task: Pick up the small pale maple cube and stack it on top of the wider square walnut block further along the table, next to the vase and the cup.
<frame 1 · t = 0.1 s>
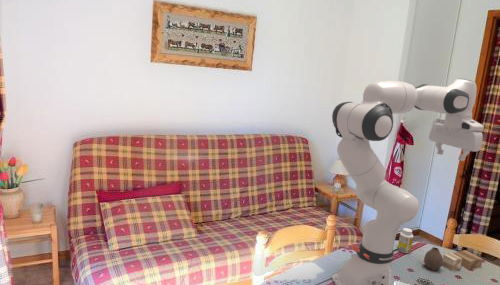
hand: (450, 157, 146), 48 cm above the table, tool pointing down, fingers open, 8 cm apart
walnut block: (466, 264, 163), on the table
supplement bottle: (403, 251, 170), on the table
maple cube: (450, 267, 158), on the table
vase: (431, 268, 156), on the table
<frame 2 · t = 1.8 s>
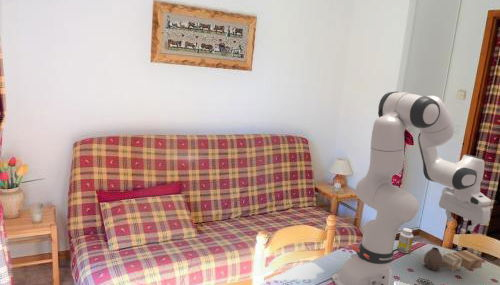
hand: (459, 225, 155), 19 cm above the table, tool pointing down, fingers open, 8 cm apart
nothing on the table moved.
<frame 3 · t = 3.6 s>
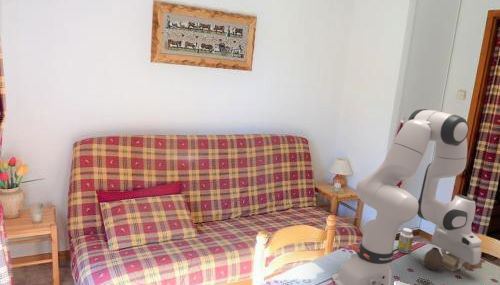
hand: (451, 263, 158), 2 cm above the table, tool pointing down, fingers closed on maple cube, 5 cm apart
maple cube: (450, 267, 158), on the table, touching gripper
everything else where it was.
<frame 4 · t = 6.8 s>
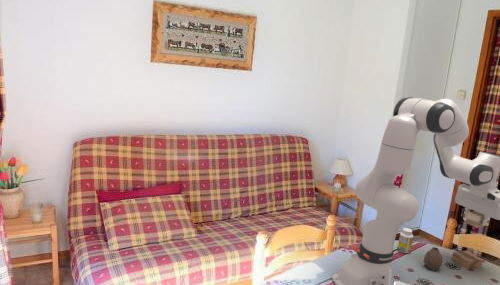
hand: (475, 221, 159), 20 cm above the table, tool pointing down, fingers closed on maple cube, 5 cm apart
maple cube: (475, 224, 159), point 18 cm above the table, touching gripper
everything else where it was.
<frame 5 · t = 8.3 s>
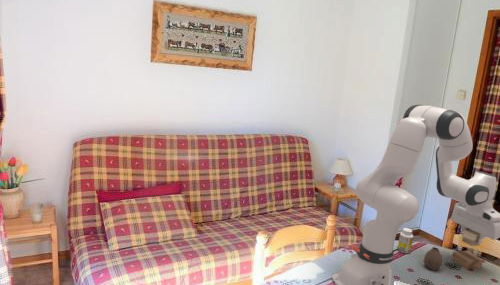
hand: (471, 239, 160), 11 cm above the table, tool pointing down, fingers closed on maple cube, 5 cm apart
maple cube: (470, 242, 161), point 10 cm above the table, touching gripper
everything else where it was.
when the fingers open (7 cm above the table, at t = 9.5 s): maple cube drops 2 cm, resting on walnut block.
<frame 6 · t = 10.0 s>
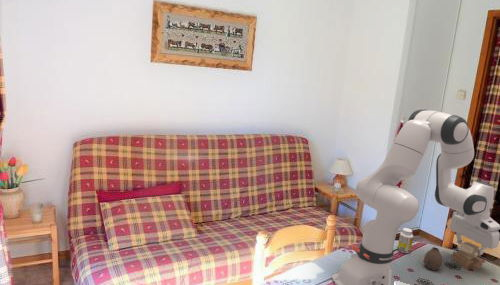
hand: (469, 248, 161), 7 cm above the table, tool pointing down, fingers open, 8 cm apart
walnut block: (466, 264, 163), on the table, touching maple cube
maple cube: (467, 255, 162), point 4 cm above the table, touching walnut block
everything else where it was.
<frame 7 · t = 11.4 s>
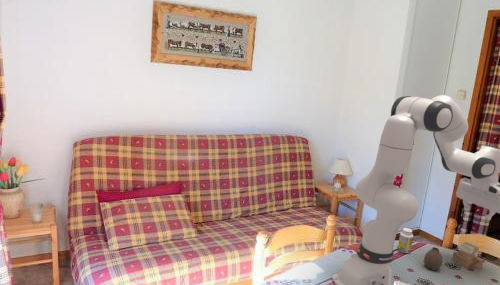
hand: (476, 215, 158), 22 cm above the table, tool pointing down, fingers open, 8 cm apart
nothing on the table moved.
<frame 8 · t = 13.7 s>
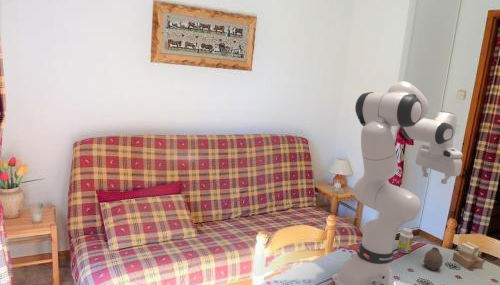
hand: (434, 180, 163), 34 cm above the table, tool pointing down, fingers open, 8 cm apart
nothing on the table moved.
at the end: maple cube inside the target area on the walnut block (0.4 cm from its centre), point 4.0 cm above the walnut block's base; maple cube tilted 0°; the gripper is holding nothing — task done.
